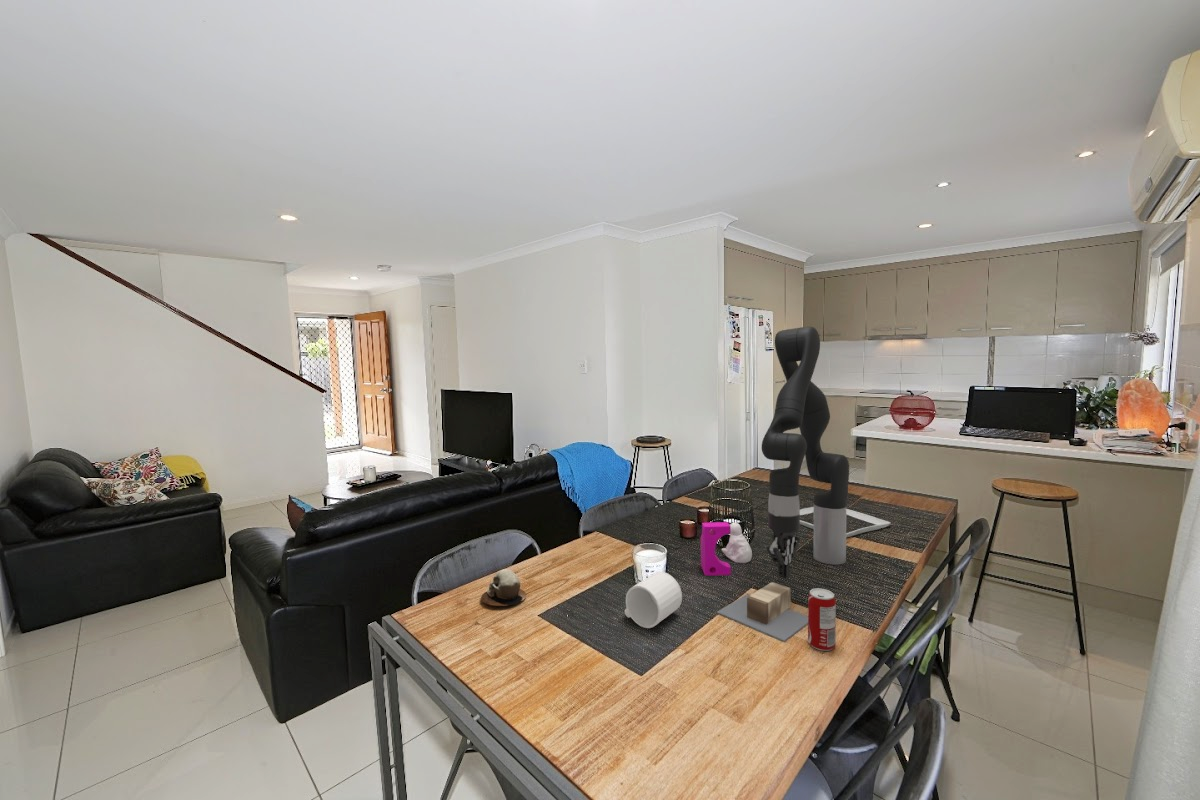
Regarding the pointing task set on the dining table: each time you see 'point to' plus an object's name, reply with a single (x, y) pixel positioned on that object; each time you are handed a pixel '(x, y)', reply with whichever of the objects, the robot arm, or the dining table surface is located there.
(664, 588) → the mug
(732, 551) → the pale pink lumpy piece
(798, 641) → the dining table surface
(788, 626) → the mat
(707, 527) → the toy block
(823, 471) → the robot arm
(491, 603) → the skull
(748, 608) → the birch block
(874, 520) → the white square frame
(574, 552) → the dining table surface
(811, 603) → the soda can
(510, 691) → the dining table surface
